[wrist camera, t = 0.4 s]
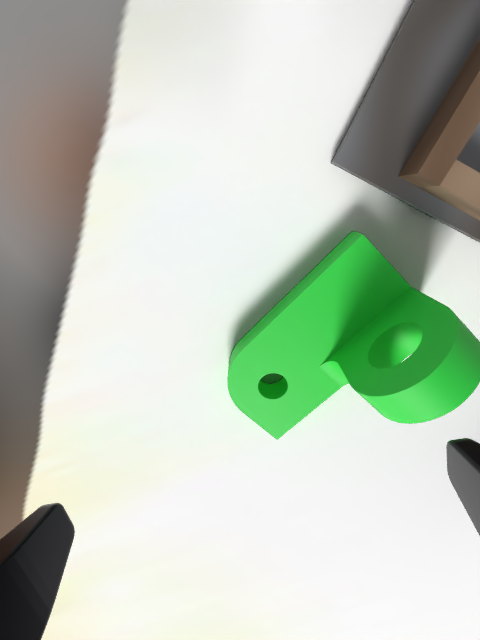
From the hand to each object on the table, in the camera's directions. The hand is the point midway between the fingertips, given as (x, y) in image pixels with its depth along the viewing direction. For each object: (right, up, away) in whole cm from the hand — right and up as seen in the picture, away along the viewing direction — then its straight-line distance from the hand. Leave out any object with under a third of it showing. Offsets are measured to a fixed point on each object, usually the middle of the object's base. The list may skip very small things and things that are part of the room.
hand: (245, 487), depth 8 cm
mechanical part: (+4, +3, +13) cm, 14 cm away
